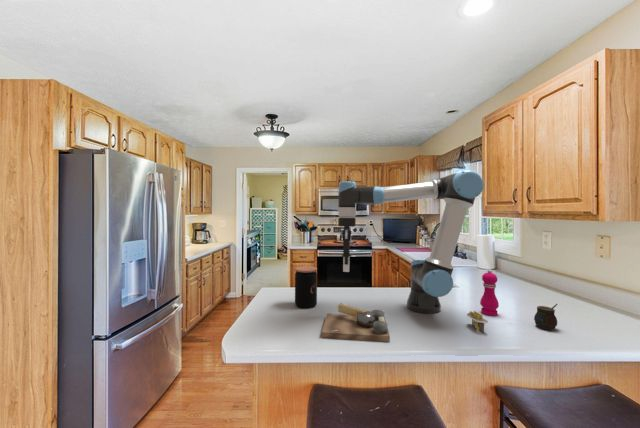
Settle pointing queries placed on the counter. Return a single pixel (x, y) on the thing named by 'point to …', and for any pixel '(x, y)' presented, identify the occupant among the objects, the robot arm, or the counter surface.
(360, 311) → the ball-head mallet
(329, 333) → the instrument base
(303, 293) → the coffee jar
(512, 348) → the counter surface
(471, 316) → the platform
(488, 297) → the pepper mill
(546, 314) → the mate gourd
